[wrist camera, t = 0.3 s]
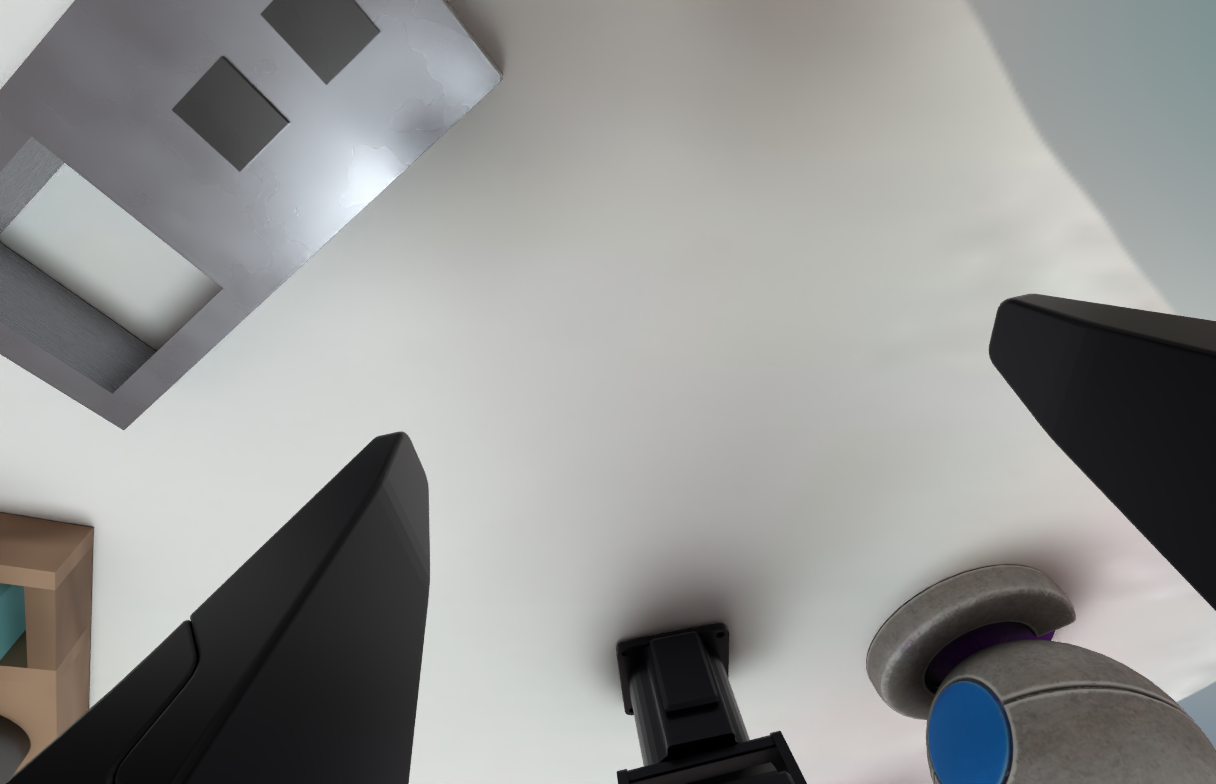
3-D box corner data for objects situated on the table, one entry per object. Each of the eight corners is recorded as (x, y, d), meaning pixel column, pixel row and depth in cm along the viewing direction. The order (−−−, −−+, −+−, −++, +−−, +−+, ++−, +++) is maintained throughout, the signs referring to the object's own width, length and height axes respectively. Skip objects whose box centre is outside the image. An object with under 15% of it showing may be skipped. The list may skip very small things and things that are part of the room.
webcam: (974, 703, 43) (1172, 979, 31) (829, 691, 40) (983, 999, 27) (1095, 577, 38) (1399, 850, 25) (938, 550, 34) (1199, 853, 21)
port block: (502, 75, 19) (502, 79, 16) (167, 386, 23) (121, 432, 20) (305, -183, 15) (263, -231, 13) (-58, 235, 19) (-151, 266, 16)
